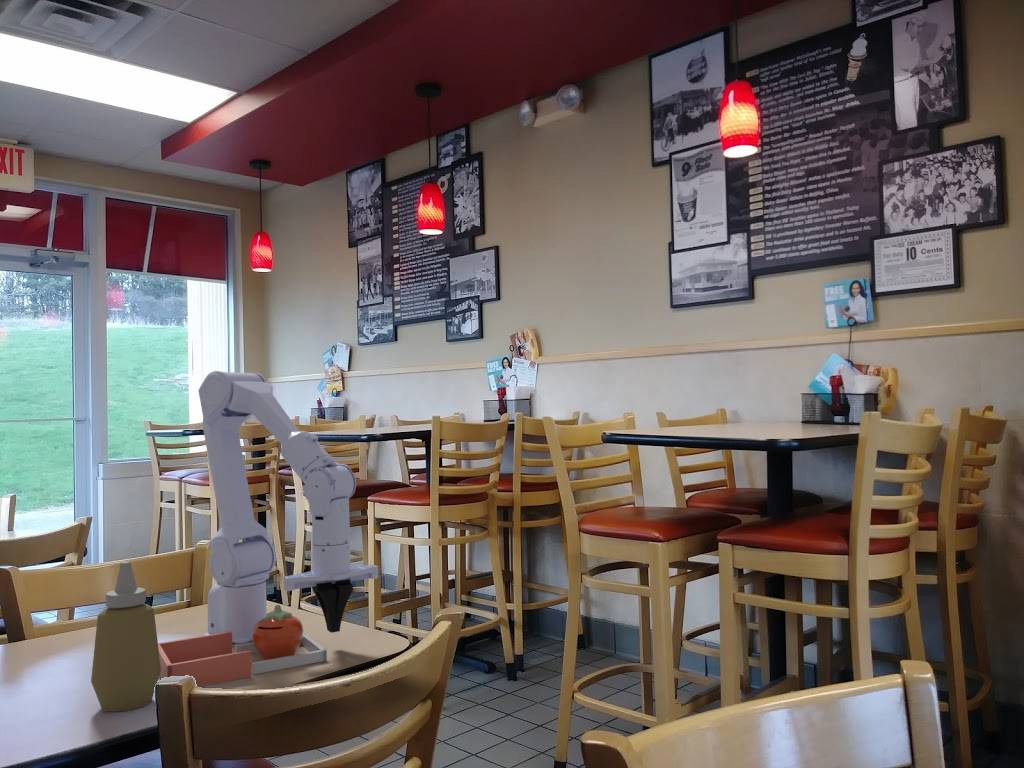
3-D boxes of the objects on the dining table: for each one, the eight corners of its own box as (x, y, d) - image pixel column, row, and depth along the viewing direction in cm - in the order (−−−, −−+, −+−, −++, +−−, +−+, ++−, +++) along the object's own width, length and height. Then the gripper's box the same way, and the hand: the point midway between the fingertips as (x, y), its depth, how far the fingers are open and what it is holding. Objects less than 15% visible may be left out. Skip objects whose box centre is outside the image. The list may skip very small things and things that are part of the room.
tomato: (243, 665, 116) (242, 610, 117) (266, 650, 124) (265, 598, 124) (291, 666, 115) (290, 610, 116) (311, 651, 123) (310, 598, 123)
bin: (231, 654, 122) (231, 631, 122) (251, 676, 111) (250, 651, 111) (154, 667, 117) (154, 643, 117) (167, 692, 106) (167, 665, 106)
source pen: (304, 642, 127) (304, 633, 127) (326, 660, 118) (326, 650, 118) (235, 654, 122) (235, 645, 122) (253, 674, 112) (253, 663, 112)
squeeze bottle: (107, 695, 105) (106, 558, 106) (170, 691, 106) (168, 555, 107) (79, 718, 97) (78, 570, 98) (147, 714, 98) (146, 567, 99)
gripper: (292, 551, 117) (294, 644, 117) (384, 540, 125) (386, 628, 124) (279, 545, 123) (281, 634, 123) (368, 535, 131) (370, 619, 130)
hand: (333, 630), depth 124 cm, fingers closed
